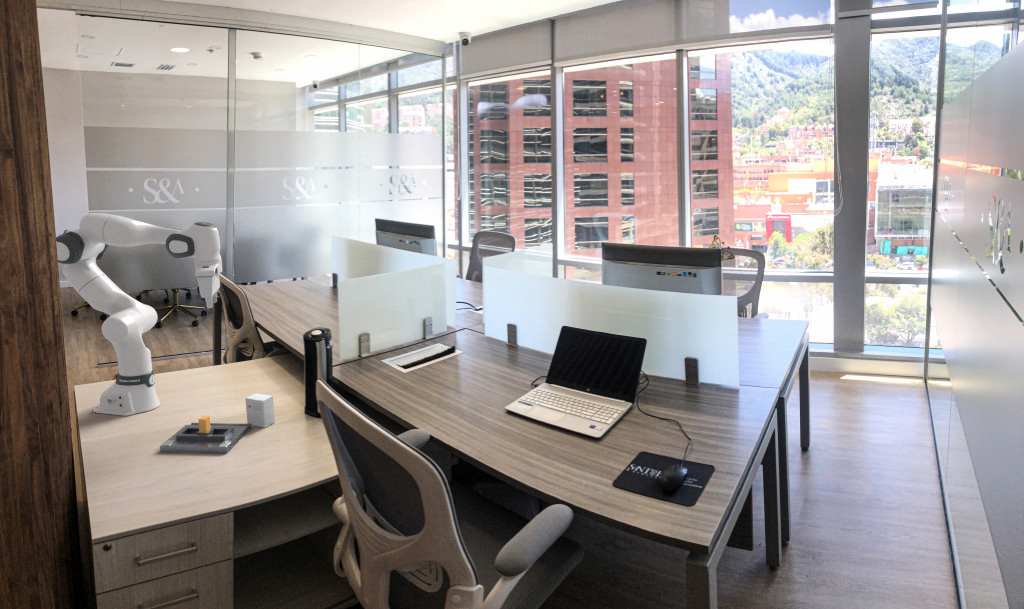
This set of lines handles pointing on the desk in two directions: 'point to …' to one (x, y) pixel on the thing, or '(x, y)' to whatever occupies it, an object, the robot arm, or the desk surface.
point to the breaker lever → (205, 426)
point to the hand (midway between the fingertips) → (212, 305)
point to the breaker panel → (204, 439)
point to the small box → (260, 410)
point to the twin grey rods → (227, 424)
